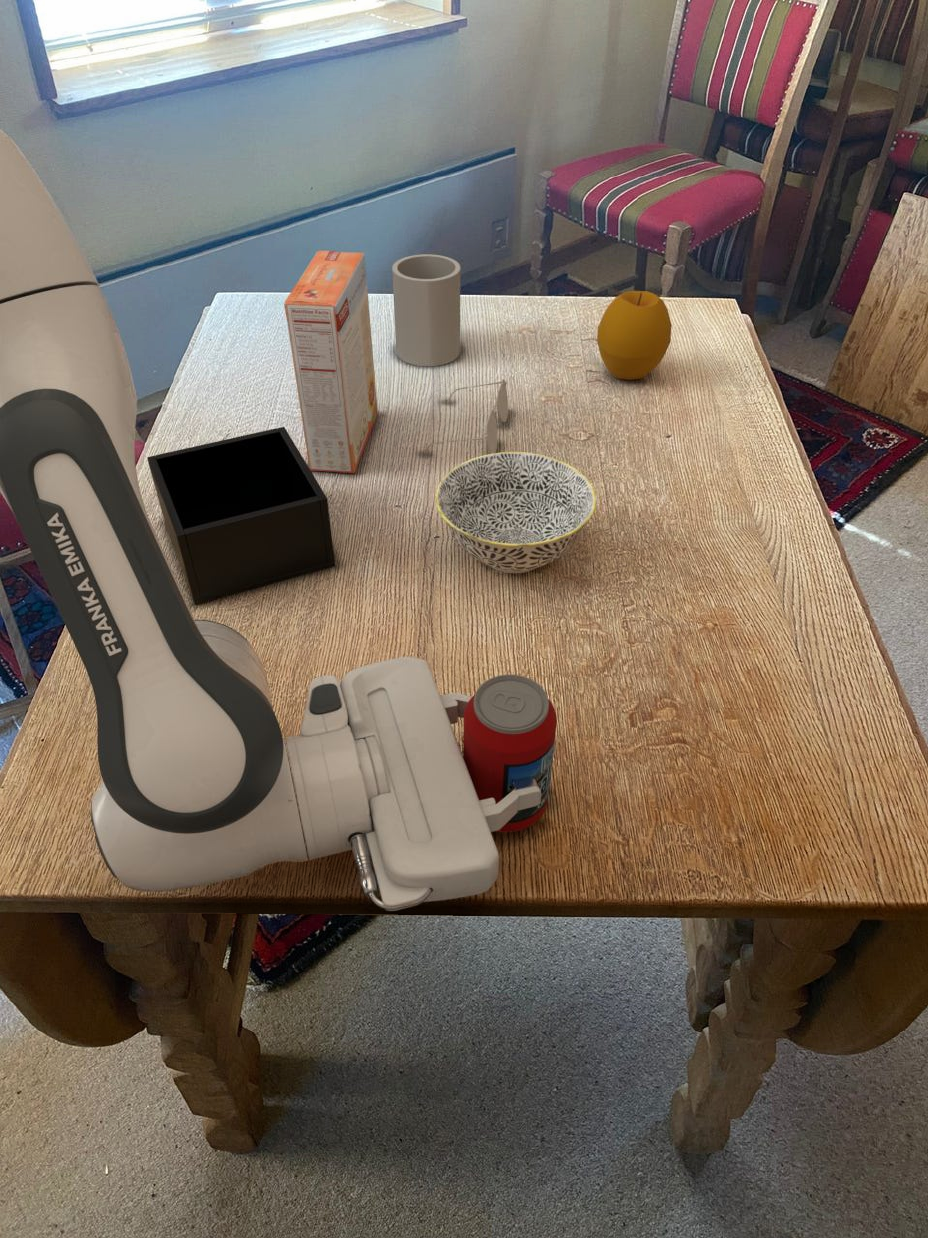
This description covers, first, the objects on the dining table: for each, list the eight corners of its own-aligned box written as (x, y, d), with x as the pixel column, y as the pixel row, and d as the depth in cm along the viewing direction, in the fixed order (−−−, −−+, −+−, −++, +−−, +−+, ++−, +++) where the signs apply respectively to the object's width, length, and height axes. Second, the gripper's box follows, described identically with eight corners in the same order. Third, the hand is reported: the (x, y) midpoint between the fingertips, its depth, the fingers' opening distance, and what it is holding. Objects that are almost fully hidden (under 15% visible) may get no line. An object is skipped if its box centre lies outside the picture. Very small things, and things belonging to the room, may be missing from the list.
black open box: (194, 605, 89) (176, 536, 83) (165, 524, 99) (146, 456, 93) (335, 566, 94) (327, 497, 88) (294, 492, 103) (284, 426, 98)
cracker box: (333, 411, 117) (316, 247, 102) (379, 415, 116) (368, 250, 102) (304, 472, 107) (280, 298, 92) (354, 476, 106) (338, 302, 92)
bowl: (477, 621, 88) (478, 561, 83) (413, 531, 98) (411, 472, 93) (617, 576, 93) (626, 517, 88) (542, 495, 103) (546, 437, 98)
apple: (619, 400, 119) (631, 314, 111) (577, 369, 125) (586, 286, 117) (678, 382, 123) (693, 298, 115) (634, 353, 129) (646, 271, 121)
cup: (459, 366, 126) (459, 281, 118) (394, 365, 126) (390, 280, 118) (460, 337, 132) (460, 254, 124) (398, 336, 133) (394, 253, 124)
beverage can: (533, 849, 69) (543, 749, 61) (450, 823, 71) (449, 722, 63) (557, 782, 74) (570, 680, 66) (479, 759, 75) (482, 657, 67)
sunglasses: (491, 465, 108) (485, 428, 104) (424, 466, 110) (416, 430, 107) (510, 407, 118) (506, 371, 114) (448, 409, 120) (442, 374, 117)
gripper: (363, 891, 56) (573, 837, 59) (310, 662, 70) (480, 628, 73) (370, 941, 60) (565, 888, 63) (318, 716, 74) (479, 681, 77)
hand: (519, 747), depth 68 cm, fingers closed on beverage can, 7 cm apart
